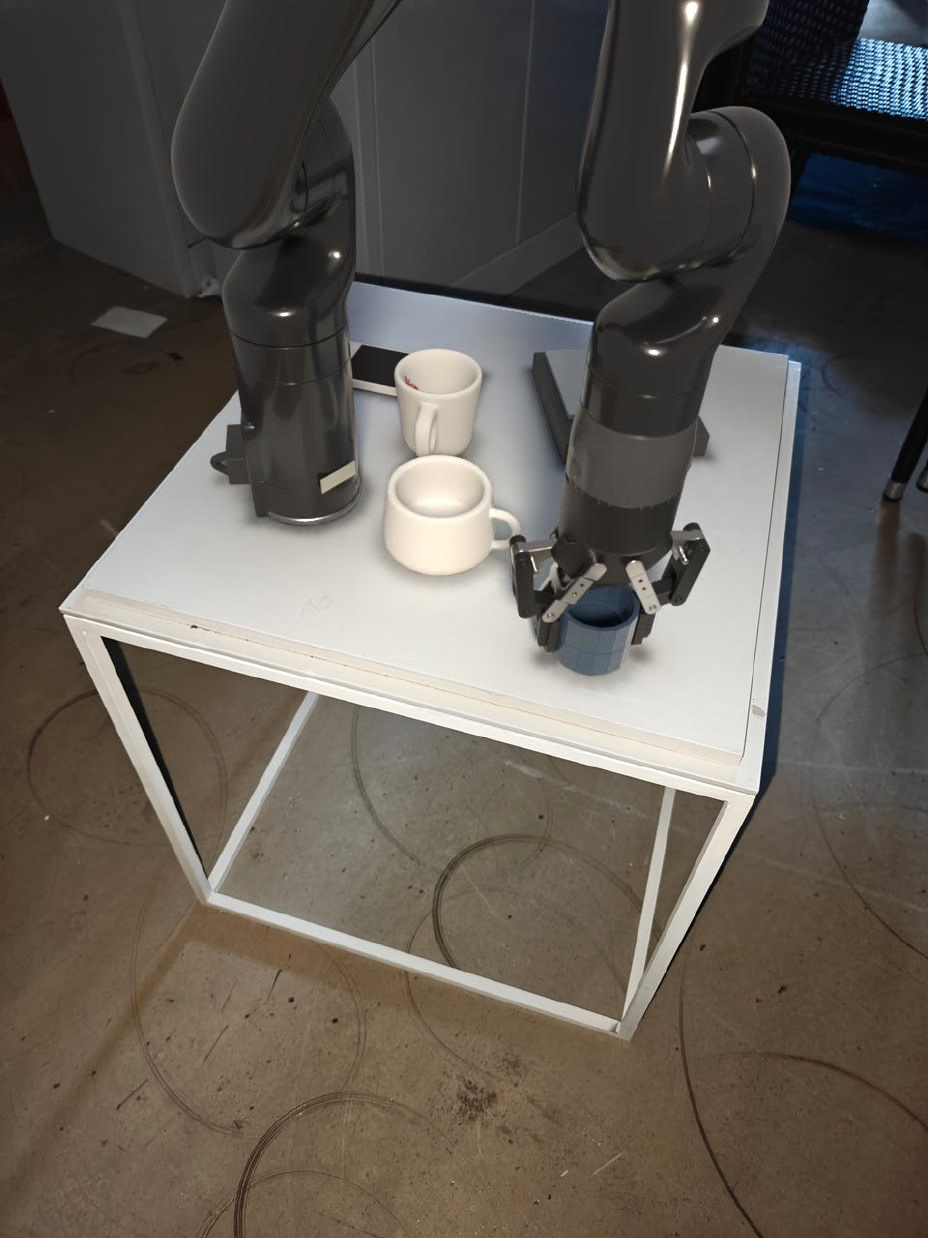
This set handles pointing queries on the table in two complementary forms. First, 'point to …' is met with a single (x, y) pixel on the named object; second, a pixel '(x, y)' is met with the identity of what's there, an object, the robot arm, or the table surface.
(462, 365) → the cup
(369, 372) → the smartphone
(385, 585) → the table surface
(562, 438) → the scale
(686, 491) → the table surface
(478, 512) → the mug
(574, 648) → the dark blue tumbler
